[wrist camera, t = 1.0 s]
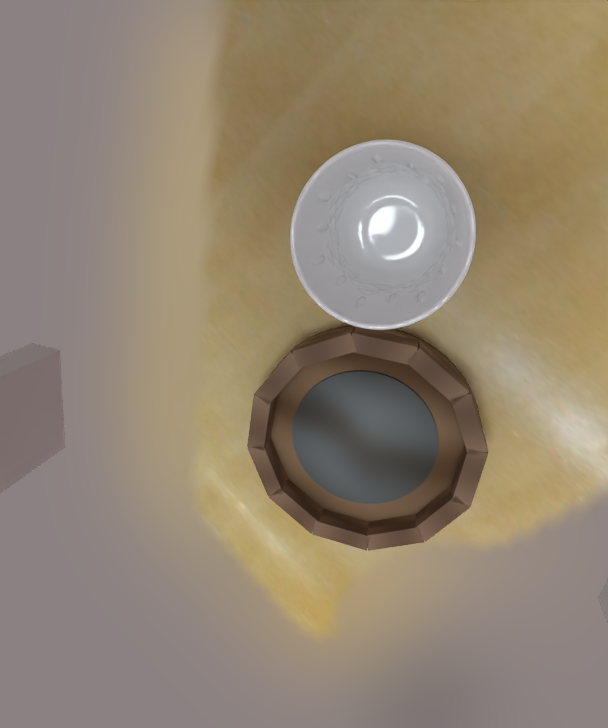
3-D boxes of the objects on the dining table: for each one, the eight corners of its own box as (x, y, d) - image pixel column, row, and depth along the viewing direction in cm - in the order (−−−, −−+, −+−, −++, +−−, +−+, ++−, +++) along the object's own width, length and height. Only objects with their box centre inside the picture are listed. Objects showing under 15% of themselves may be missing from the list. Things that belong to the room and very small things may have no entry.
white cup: (315, 267, 32) (269, 295, 23) (355, 141, 29) (320, 113, 20) (430, 309, 31) (430, 355, 22) (483, 183, 28) (510, 174, 19)
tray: (276, 303, 33) (263, 312, 31) (511, 353, 30) (518, 367, 28) (250, 492, 39) (237, 513, 36) (447, 548, 36) (449, 576, 33)
